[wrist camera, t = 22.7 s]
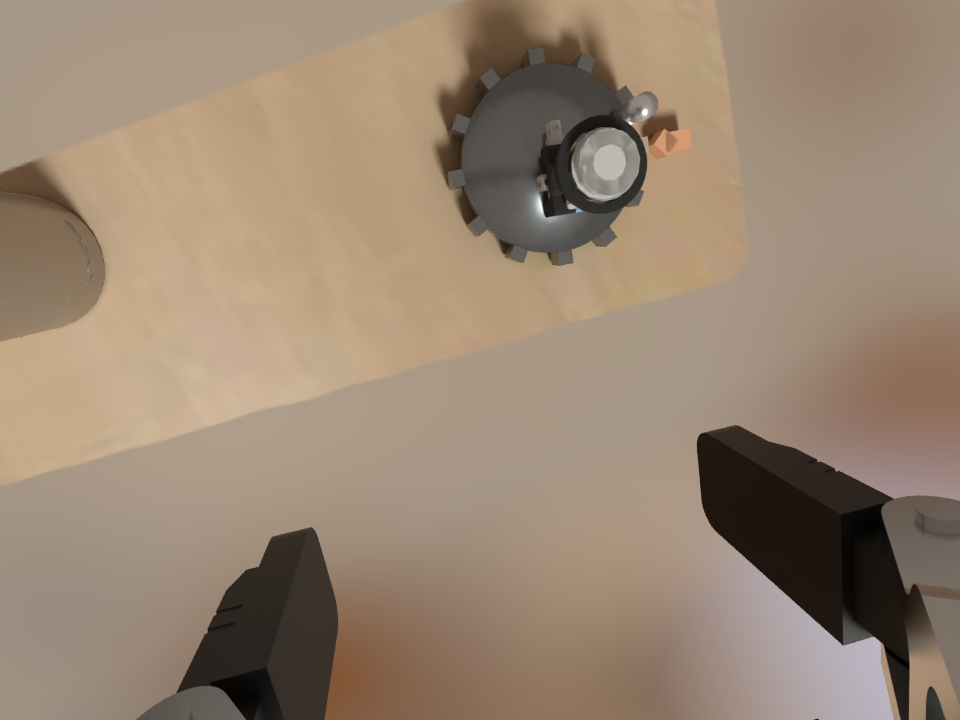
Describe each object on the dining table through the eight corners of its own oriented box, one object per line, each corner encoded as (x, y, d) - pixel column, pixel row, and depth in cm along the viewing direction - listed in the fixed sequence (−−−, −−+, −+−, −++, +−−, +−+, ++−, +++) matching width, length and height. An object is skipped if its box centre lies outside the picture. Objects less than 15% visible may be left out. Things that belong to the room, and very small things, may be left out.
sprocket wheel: (466, 281, 41) (478, 287, 36) (427, 73, 38) (433, 43, 32) (646, 245, 43) (686, 246, 37) (625, 42, 39) (665, 8, 34)
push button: (513, 129, 38) (554, 90, 28) (585, 119, 38) (649, 77, 29) (526, 225, 39) (569, 219, 29) (594, 214, 40) (658, 204, 30)
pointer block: (646, 161, 42) (655, 158, 40) (643, 134, 41) (652, 130, 40) (681, 154, 42) (691, 151, 41) (679, 128, 42) (689, 124, 40)
